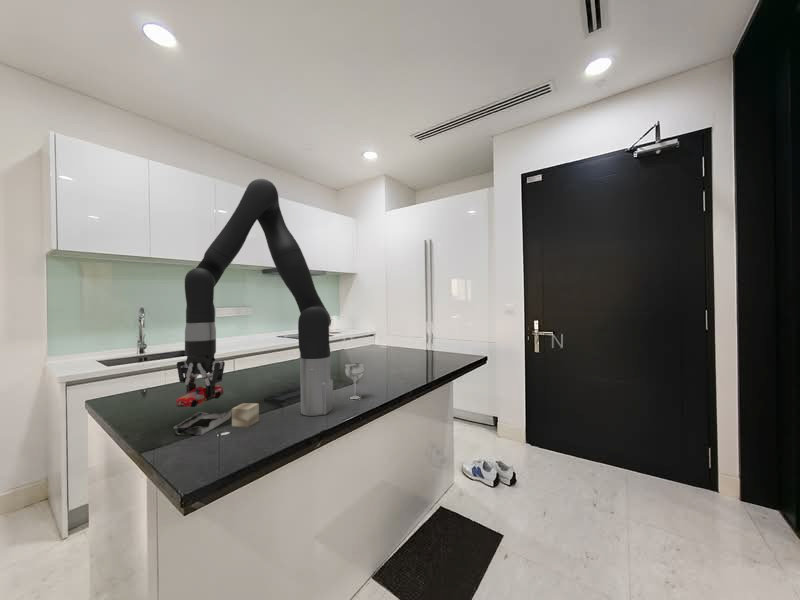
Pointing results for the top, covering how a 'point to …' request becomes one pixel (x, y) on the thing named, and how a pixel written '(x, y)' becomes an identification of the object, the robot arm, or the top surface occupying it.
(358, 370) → the wineglass
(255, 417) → the birch block
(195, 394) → the race car
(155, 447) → the top surface
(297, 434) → the top surface
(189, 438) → the top surface
